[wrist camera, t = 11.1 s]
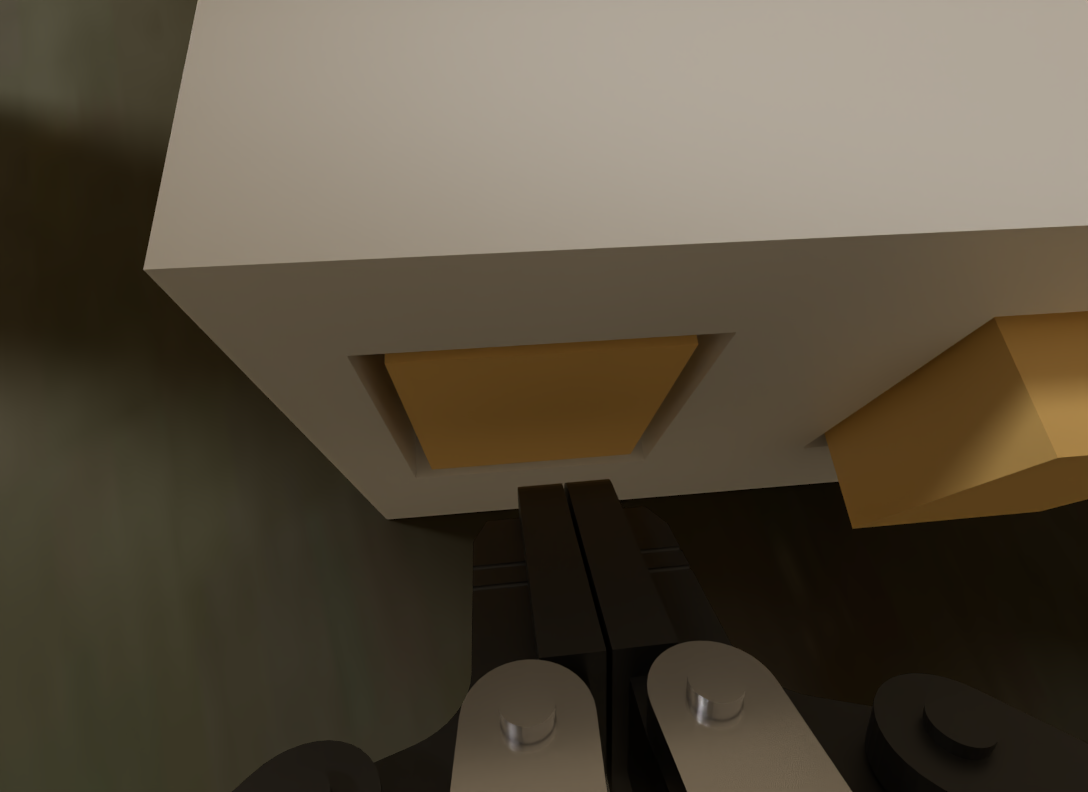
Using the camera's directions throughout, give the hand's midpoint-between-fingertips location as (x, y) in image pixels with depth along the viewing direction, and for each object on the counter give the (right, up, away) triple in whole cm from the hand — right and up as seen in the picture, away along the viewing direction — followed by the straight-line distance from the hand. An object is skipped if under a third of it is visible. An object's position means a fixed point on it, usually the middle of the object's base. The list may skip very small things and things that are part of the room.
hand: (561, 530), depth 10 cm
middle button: (+8, +1, +4) cm, 9 cm away
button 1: (-1, +2, +4) cm, 4 cm away
